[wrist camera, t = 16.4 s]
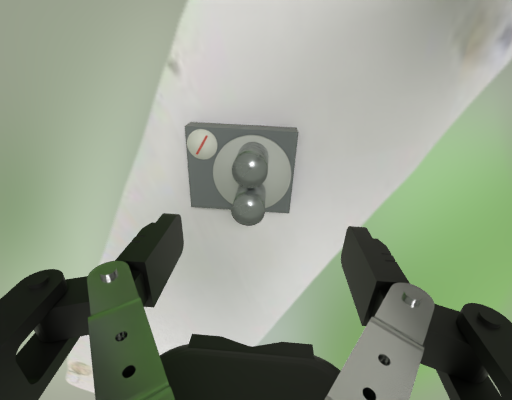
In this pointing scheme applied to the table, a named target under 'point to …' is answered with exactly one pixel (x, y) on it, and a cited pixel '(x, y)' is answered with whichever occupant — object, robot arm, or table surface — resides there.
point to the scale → (224, 154)
